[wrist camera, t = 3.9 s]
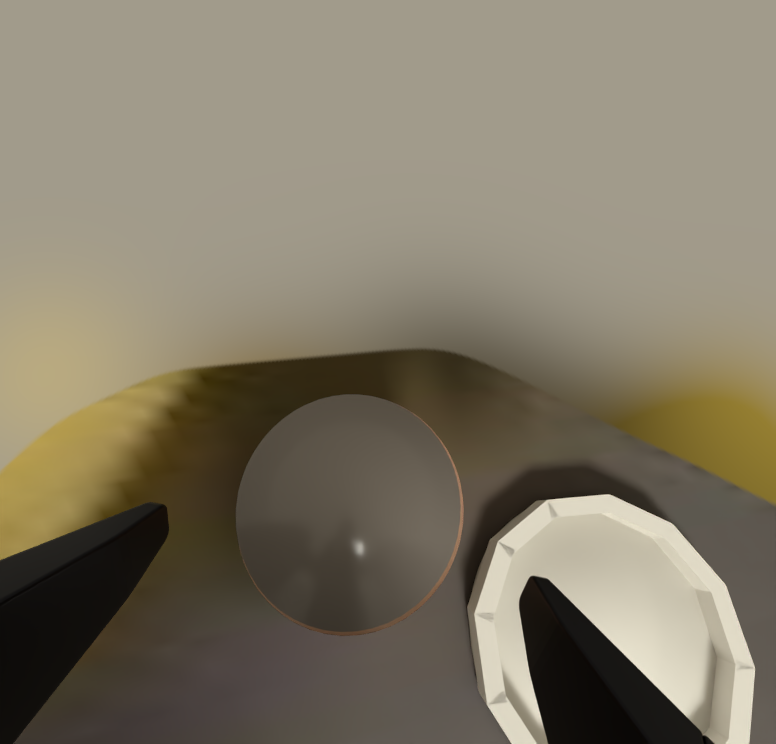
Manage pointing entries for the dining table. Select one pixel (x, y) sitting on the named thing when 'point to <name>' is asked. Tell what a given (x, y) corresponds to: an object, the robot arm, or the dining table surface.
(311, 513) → the spice jar
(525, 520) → the tray
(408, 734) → the dining table surface
